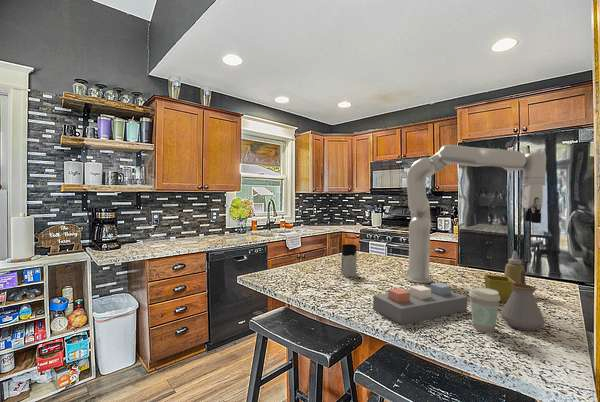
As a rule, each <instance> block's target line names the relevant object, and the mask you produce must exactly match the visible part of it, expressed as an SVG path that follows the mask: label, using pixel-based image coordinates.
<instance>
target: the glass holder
mask: <svg viewBox="0 0 600 402" xmlns="http://www.w3.org/2000/svg"><path fill="white" fill-rule="evenodd" d="M333 249H336V250H337V254H338V256H339V257H341V264H340V265H339V264H338V263H336V262H335V260H334V259H333V256H332V250H333ZM329 251H330V258H331V260H332V262H333V263H334V264H335V265H336V266H337V267H339V269H340V272H339V273H340V274H339V275H342V276H346V277H355V276H357V275H358V273H357V264H358V263H357V258H358V257H357V256H358V253H357V251H358V249H357V245H356V244H351V243H349V244H347V243H346V244H342V245H341V254H340V251H339V248H337V247H335V246H334V247H331V249H330V250H329Z"/></svg>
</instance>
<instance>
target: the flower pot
mask: <svg viewBox="0 0 600 402" xmlns="http://www.w3.org/2000/svg"><path fill="white" fill-rule="evenodd" d="M483 277H484V288H489V289H493V290H496V291H498V292H499V296H500V299H501V300H500V301H499V303H505V302H507V301H508V299H509V297H510V295H511V294H512V292H513V288H512V286H511V284H514V283H515V282H514V281H513V280H512V279H510V278H509V277H505V276H504V275H503V276H502V275H493V274H483Z"/></svg>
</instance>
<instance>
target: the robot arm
mask: <svg viewBox="0 0 600 402" xmlns="http://www.w3.org/2000/svg"><path fill="white" fill-rule="evenodd" d="M452 164H454V165H463V166H469V167H496V168H502V169H504V170H505V171H508V172H516V171H522V170H523V171H522V173H523V174H522V186H523V187H524V190H523V198H522V199H523V200H522V207H523V208H524V209H525V213H524V216H525V217H524V221H525V222H530V223H532V224H541V223H542V208H543V198H544V197H543V196H544V195H543V193H544V192H543V186H546V172H547V171H546V170H547V169H546V167H547V155H546V153H545V152H529V153H526V154H524V152H521V151H518V150H511V149H502V148H501V149H500V148H487V147H474V146H464V145H457V144H445V145H443V146H442V147H440V149H439V150H438V152H436V153H435V154H434V155H432V156H430V157H421V158H419V159H417V160H416V161H414V162H413V164H412V165H411V166H410V167H409V168H408V171H407V174H406V187H407V190H406V191H407V205H408V209H409V211H410V221H409V223H408V267H405V268H404V269H403V271H404V272H405V273H406V275H405V276H404V279H405V280H407V281H409V282H413V283H419V284H429V283H430V284H431V283H432V282H433V278H432V277H431V276H430V255H431V254H430V252H431V251H430V249H431V248H430V247H431V227H432V219H431V209H430V201H429V199H428V197H427V190H426V189H427V188H426V187H427V186H426V178H427V177H431V176H433V175H434V174H437V173H438V172H440V171H442V170H444V169H446V167H449V166H450V165H452Z"/></svg>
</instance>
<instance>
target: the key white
mask: <svg viewBox="0 0 600 402" xmlns="http://www.w3.org/2000/svg"><path fill="white" fill-rule="evenodd" d="M409 290H410V296H413V297H415V298H418V299H420V300H422V299H428V298H431V289H429V288H427V286H423V285H421V284H418V285H413V286H410V287H409Z"/></svg>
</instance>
